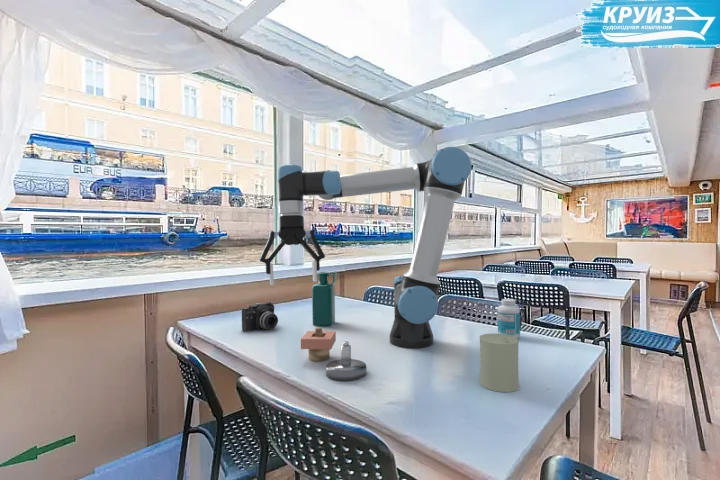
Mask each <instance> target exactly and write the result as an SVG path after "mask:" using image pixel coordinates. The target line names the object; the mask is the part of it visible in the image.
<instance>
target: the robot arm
mask: <svg viewBox="0 0 720 480" xmlns="http://www.w3.org/2000/svg"><path fill="white" fill-rule="evenodd" d="M471 172H472V161H471V159H470V156H469V155H468V154H467V152H466V151H465V150H463V149H461V148H459V147H456V146H446V147H444V148H443V147H442V148H441V149H439V150H438V151H436V152H435V153H434V154H433V155H432V157H431V158H430V160H426V161H424V162H419V163H415V164H413V166H409V167H402V168H393V169H386V170H385V169H383V170H376V171H368V172H358V173H350V174H341V172H340V171H338V170H331V169H327V170H316V171H315V170H314V171H313V170H312V171H311V170H310V171H304V170H303V168H302V166H301V165H299V164H282V165H280V166H279V167H278V169H277V189H278V190H277V192H278V193H277V194H278V215H280V216H279V218H278V221H279V222H278V224H279V230H278V231H274V230H271V231H269V234H268V239H267V242H266V245H265V246H264V248H263V250H262V252H261V254H260V257H259V261H260V262H261V263H265V274H267V275H269V285H270V286H274V284H275V280H274V264H273V263H271V262H272V261H273V260H274V259H275V258H276V256H277V255H278V253H280V251H281V249H283V247H285V245H286V246H292V245H295V246H296V245H300V246H301V247H302V248H303V249H304V250H306V252H307V253H308V254H309V256H311V257H312V259H313V260H311V268H312V269H311V270H312V273H311V274H312V282H317V283H318V275H317V273H318V271H320V270H321V269H320V267H321V265H320V261H321V260H322V259H325V258H326V255H325V253H324V251H323V249H322V248H321V246H320V244H319V242H318V240H317V238H316V235H315V230H313V229H310V230H305V224H304V223H305V222H304V221H305V218H304V215H303V214H304V199H303V198H304V196H305V197H306V196H307V197H308V196H319V198H320V199H322V200H325V201H331V200H333V199H338V198H345V197H348V198H349V197H356V196H363V195H364V196H366V195H372V194H374V195H375V194H382V193H390V192H391V193H393V192H399V191H410V190H415V191H417V192H418V193H419V192H425V193H426V199H425V202H424V205H423V206H424V208H423V212H422V215H421V220H420V224H419V229H418V233H417V237H416V240H415V246H414V249H413V252H412V258H411V262H410V266H409V270H407V271H406V272H404V273H403V274H402V275H398V276H395V277H394V281H393V288H394V289H393V292H394V293H393V296H394V302H393V303H394V304H393V305H394V311H393V312H394V320H393V323H392V325H391V330H390V333H389V342H390V344H392V345H395V346H397V347H401V348H410V349H413V348H416V349H417V348H426V347H429V346H432V345H433V344H434V343H435V342H434V333H433V331H432V327H431V324H430V321H431V320H432V319H433V318H434V317H435V316H436V314H437V312H438V308H439V301H438V295H439V290H440V285H441V282H440V280H439V279H438V274H439V273H438V272H439V268H440V265H441V260H442V257H443V256H442V255H443V251H444V246H445V244H446V240H447V236H448V231H449V227H450V223H451V218H452V214H453V211H454V210H453V209H454V205H455V202H456V200H458V199H460V198H461V197H462V194H463V190H464V185H465V182H466V181H467V180H468V178H469V176H470V174H471ZM305 236H306V237H308V238H309V240H310V242H311V244H312V245H313V247H314V249H315V250H313V249H312V247H310V246H309V243H307V242H306V241H305V239H304V238H305ZM277 237H278V238H280V239H281V240H280V241H279V242H278V244H277V245H276V246H275V248H274V249H273V250H272V252H271V253H270V254H269V255H268V253H269V251H270V249H271V247H272V245H273V243H274V240H275V239H276V238H277ZM267 255H268V256H267Z"/></svg>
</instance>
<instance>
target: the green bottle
mask: <svg viewBox="0 0 720 480" xmlns="http://www.w3.org/2000/svg"><path fill="white" fill-rule="evenodd" d="M332 275H333V278H332V282H329V280H328V278H329V277H331V276H332ZM317 276H318V281H317V283H315V284H313V285H312V287H311V297H312V298H311V305H312V307H311V308H312V309H311V311H312V314H311V315H312V325H313V326H315V327H316V326H317V327H329V326H332V325H333V324H334V323H335V322H336V301H335V300H336V299H335V297H336V294H335V292H336V291H335V289H336V288H335V284H336V283H337V280H338V271H333V272H328V271H320V272H317Z"/></svg>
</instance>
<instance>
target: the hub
mask: <svg viewBox="0 0 720 480" xmlns="http://www.w3.org/2000/svg"><path fill="white" fill-rule="evenodd" d="M340 349H341V350H340V351H341V352H340V356H341V357H340V358H341V359H335V360H332V361H330V362H328V363H327V364H326V366H325V375H326V378H329V380H332V381H337V382H354V381H357V380H361V379H363V378H365V376H366V375H367V364H366V363H365V362H364V361H362V360H359V359H353V358H352V351H351V350H352V346H351V344H350V342H349V341H343V342H342V344H341V345H340Z"/></svg>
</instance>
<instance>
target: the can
mask: <svg viewBox="0 0 720 480" xmlns="http://www.w3.org/2000/svg"><path fill="white" fill-rule="evenodd" d="M519 341H520V340H519V338H518V339H517V338H516V337H513V336H510V335H505V334H498V333H484V334H481V335H480V336H479V359H480V360H479V362H480V364H479V365H480V369H479V372H480V375H479V377H480V378H479V384H480V385H481V387H483V388H485V389H487V390H490V391H492V392H499V393H513V392H516V391H518V390H519V389H520V384H519V383H520V382H519V381H520V380H519Z"/></svg>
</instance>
